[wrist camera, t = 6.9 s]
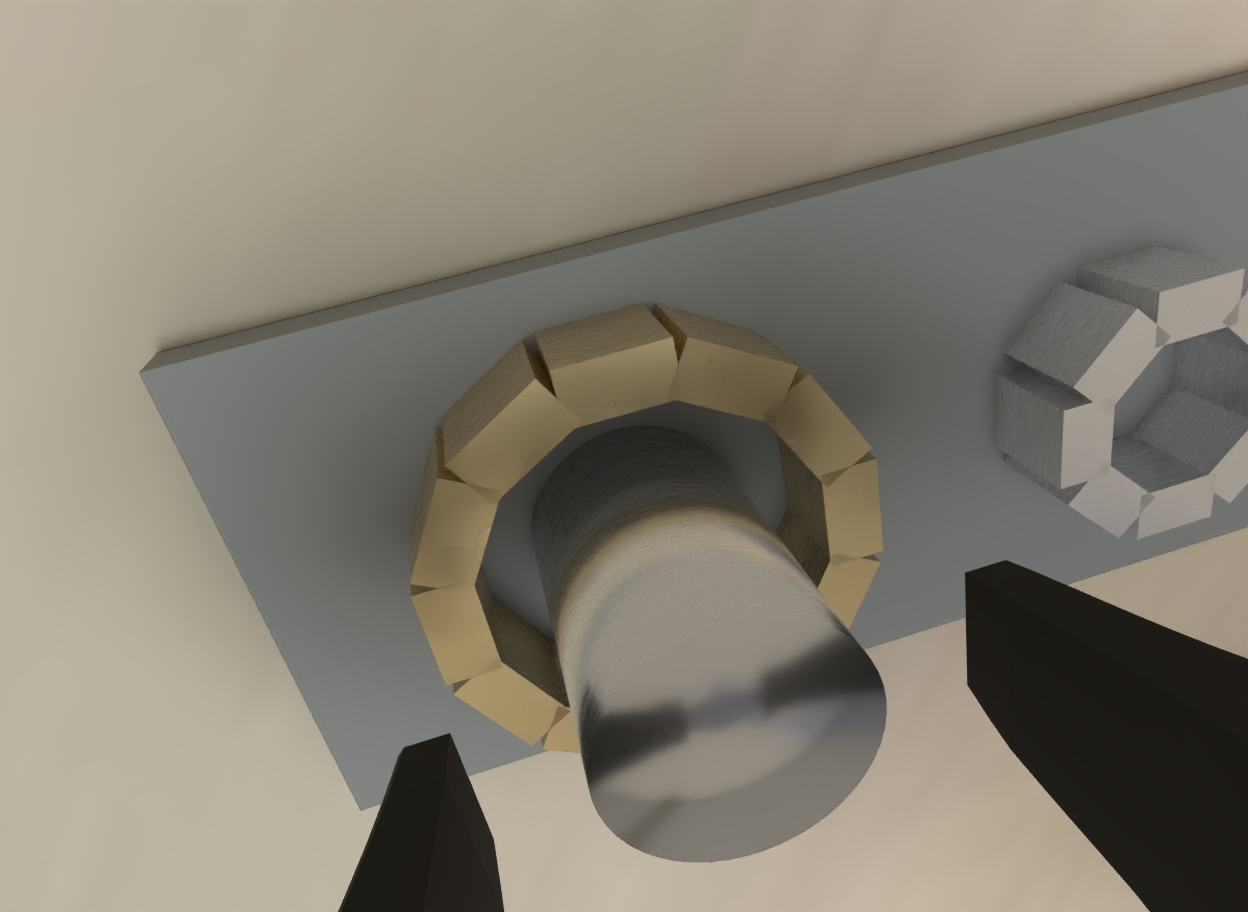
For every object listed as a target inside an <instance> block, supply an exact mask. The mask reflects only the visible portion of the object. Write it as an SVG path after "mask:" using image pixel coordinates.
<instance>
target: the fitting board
mask: <svg viewBox="0 0 1248 912" xmlns="http://www.w3.org/2000/svg"><path fill="white" fill-rule="evenodd" d="M1153 245H1154V246H1158V247H1162V248H1166V249H1170V250H1171V249H1175V250H1179V251H1183V252H1187V253H1191V254H1195V255H1199V256H1203V257H1207V258H1211V259H1215V260H1219V261H1223V262H1227V263H1231V264H1235V265H1239V266H1243V267H1247V268H1248V71H1247V72H1243V73H1239V74H1235V75H1231V76H1228V77H1224V78H1220V79H1216V80H1212V81H1208V82H1204V83H1200V84H1197V85H1193V86H1189V87H1185V88H1181V89H1177V90H1173V91H1169V92H1166V93H1162V94H1158V95H1154V96H1150V97H1146V98H1142V99H1138V100H1135V101H1131V102H1127V103H1123V104H1119V105H1115V106H1111V107H1108V108H1104V109H1100V110H1096V111H1092V112H1088V113H1084V114H1080V115H1077V116H1073V117H1069V118H1065V119H1061V120H1057V121H1053V122H1049V123H1046V124H1042V125H1038V126H1034V127H1030V128H1026V129H1022V130H1018V131H1015V132H1011V133H1007V134H1003V135H999V136H995V137H991V138H988V139H984V140H980V141H976V142H972V143H968V144H964V145H960V146H957V147H953V148H949V149H945V150H941V151H937V152H933V153H929V154H926V155H922V156H918V157H914V158H910V159H906V160H902V161H898V162H895V163H891V164H887V165H883V166H879V167H875V168H871V169H868V170H864V171H860V172H856V173H852V174H848V175H844V176H840V177H837V178H833V179H829V180H825V181H821V182H817V183H813V184H809V185H806V186H802V187H798V188H794V189H790V190H786V191H782V192H778V193H775V194H771V195H767V196H763V197H759V198H755V199H751V200H748V201H744V202H740V203H736V204H732V205H728V206H724V207H720V208H717V209H713V210H709V211H705V212H701V213H697V214H693V215H689V216H686V217H682V218H678V219H674V220H670V221H666V222H662V223H658V224H655V225H651V226H647V227H643V228H639V229H635V230H631V231H628V232H624V233H620V234H616V235H612V236H608V237H604V238H600V239H597V240H593V241H589V242H585V243H581V244H577V245H573V246H569V247H566V248H562V249H558V250H554V251H550V252H546V253H542V254H538V255H535V256H531V257H527V258H523V259H519V260H515V261H511V262H508V263H504V264H500V265H496V266H492V267H488V268H484V269H480V270H477V271H473V272H469V273H465V274H461V275H457V276H453V277H449V278H446V279H442V280H438V281H434V282H430V283H426V284H422V285H418V286H415V287H411V288H407V289H403V290H399V291H395V292H391V293H388V294H384V295H380V296H376V297H372V298H368V299H364V300H360V301H357V302H353V303H349V304H345V305H341V306H337V307H333V308H329V309H326V310H322V311H318V312H314V313H310V314H306V315H302V316H298V317H295V318H291V319H287V320H283V321H279V322H275V323H271V324H268V325H264V326H260V327H256V328H252V329H248V330H244V331H240V332H237V333H233V334H229V335H225V336H221V337H217V338H213V339H209V340H206V341H202V342H198V343H194V344H190V345H186V346H182V347H178V348H175V349H171V350H167V351H163V352H159V353H157V354H156V355H155V356H154V357H153V358H152V359H151V360H150V361H149V362H148V363H147V365H146V366H145V367H144V368H143V369H142V370H141V371H140V372H139V374H140V376H141V378H142V380H143V382H144V384H145V386H146V388H147V390H148V392H149V394H150V396H151V398H152V400H153V402H154V404H155V405H156V407H157V409H158V411H159V413H160V415H161V417H162V419H163V421H164V423H165V425H166V427H167V429H168V431H169V433H170V435H171V437H172V439H173V441H174V443H175V445H176V447H177V449H178V451H179V453H180V455H181V457H182V459H183V461H184V463H185V465H186V467H187V469H188V471H189V473H190V475H191V477H192V479H193V481H194V483H195V485H196V487H197V489H198V490H199V492H200V494H201V496H202V498H203V500H204V502H205V504H206V506H207V508H208V510H209V512H210V514H211V516H212V518H213V520H214V522H215V524H216V526H217V528H218V530H219V532H220V534H221V536H222V538H223V540H224V542H225V544H226V546H227V548H228V550H229V552H230V554H231V556H232V558H233V560H234V562H235V564H236V566H237V568H238V570H239V572H240V574H241V576H242V577H243V579H244V581H245V583H246V585H247V587H248V589H249V591H250V593H251V595H252V597H253V599H254V601H255V603H256V605H257V607H258V609H259V611H260V613H261V615H262V617H263V619H264V621H265V623H266V625H267V627H268V629H269V631H270V633H271V635H272V637H273V639H274V641H275V643H276V645H277V647H278V649H279V651H280V653H281V655H282V657H283V659H284V661H285V662H286V664H287V666H288V668H289V670H290V672H291V674H292V676H293V678H294V680H295V682H296V684H297V686H298V688H299V690H300V692H301V694H302V696H303V698H304V700H305V702H306V704H307V706H308V708H309V710H310V712H311V714H312V716H313V718H314V720H315V722H316V724H317V726H318V728H319V730H320V732H321V734H322V736H323V738H324V740H325V742H326V744H327V746H328V748H329V749H330V751H331V753H332V755H333V757H334V759H335V761H336V763H337V765H338V767H339V769H340V771H341V773H342V775H343V777H344V779H345V781H346V783H347V785H348V787H349V789H350V791H351V793H352V795H353V797H354V799H355V801H356V803H357V805H358V807H359V809H360V811H361V810H364V809H367V808H370V807H374V806H377V805H380V804H382V801H383V799H384V796H385V793H386V790H387V787H388V784H389V782H390V779H391V776H392V773H393V770H394V767H395V764H396V761H397V758H398V756H399V754H400V753H401V751H402V749H403V748H404V747H406V746H409V745H413V744H416V743H419V742H422V741H426V740H429V739H432V738H435V737H438V736H442V735H445V734H448V733H451V736H452V738H453V741H454V743H455V746H456V748H457V751H458V753H459V755H460V758H461V760H462V763H463V765H464V768H465V770H466V773H467V775H468V776H470V775H474V774H477V773H480V772H483V771H486V770H489V769H492V768H495V767H499V766H502V765H505V764H508V763H511V762H514V761H517V760H520V759H524V758H527V757H530V756H533V755H536V754H539V753H542V752H545V751H549V750H543V749H542V743H541V738H540V739H539V740H538V741H537V742H535V743H534V744H533V745H532V746H531V745H529V744H528V743H526V742H525V741H523V740H522V739H520V738H519V737H517V736H516V735H514V734H513V733H511V732H510V731H508V730H507V729H505V728H504V727H502V726H501V725H499V724H497V723H496V722H494V721H493V720H491V719H490V718H488V717H487V716H485V715H484V714H482V713H481V712H479V711H478V710H476V709H475V708H473V707H472V706H470V705H469V704H467V703H466V702H464V701H463V700H461V699H460V698H458V697H457V696H455V695H454V694H453V684H449V685H446V684H445V682H444V679H443V677H442V674H441V672H440V669H439V667H438V664H437V662H436V659H435V657H434V654H433V652H432V649H431V647H430V644H429V642H428V639H427V637H426V634H425V632H424V629H423V627H422V624H421V622H420V619H419V617H418V614H417V612H416V609H415V607H414V604H413V602H412V599H411V584H410V554H411V522H412V518H413V514H414V510H415V506H416V502H417V498H418V494H419V490H420V486H421V482H422V478H423V474H424V470H425V466H426V462H427V458H428V455H429V451H430V447H431V443H432V439H433V435H434V431H435V427H437V428H442V429H443V424H442V415H443V414H444V413H446V412H447V411H448V410H449V409H450V408H451V407H452V406H453V405H454V404H455V403H456V402H457V401H458V400H459V399H460V398H461V397H462V396H463V395H464V394H465V393H466V392H467V391H468V390H469V389H470V388H471V387H472V386H473V385H474V384H475V383H476V382H477V381H478V380H479V379H481V378H482V377H483V376H484V375H485V374H486V373H487V372H488V371H489V370H490V369H491V368H492V367H493V366H494V365H495V364H496V363H497V362H498V361H499V360H500V359H501V358H502V357H503V356H504V355H505V354H506V353H507V352H508V351H509V350H510V349H511V348H512V347H513V346H514V345H516V344H517V343H518V342H519V341H520V340H521V339H522V340H523V341H524V342H525V343H526V344H527V345H528V346H529V347H530V348H531V349H532V350H533V351H534V352H535V353H537V354H538V355H539V356H540V354H539V351H538V347H537V343H536V339H535V336H534V332H535V331H539V330H543V329H547V328H550V327H554V326H558V325H561V324H565V323H569V322H573V321H576V320H580V319H584V318H588V317H591V316H595V315H599V314H603V313H606V312H610V311H614V310H617V309H621V308H625V307H629V306H632V305H636V304H640V303H642V304H643V305H644V306H645V307H646V308H647V309H648V310H649V311H650V312H651V313H652V312H653V309H654V306H655V303H657V304H661V305H665V306H668V307H672V308H675V309H679V310H683V311H686V312H690V313H693V314H697V315H701V316H704V317H708V318H712V319H715V320H719V321H722V322H726V323H730V324H733V325H737V326H740V327H744V328H748V329H751V330H754V331H755V332H757V333H758V334H759V335H760V336H761V337H765V338H766V339H767V340H769V341H770V342H771V343H772V344H774V345H775V346H776V347H777V348H779V349H780V350H781V351H782V352H784V353H785V354H786V355H787V356H789V357H790V358H791V359H792V360H793V361H795V362H796V363H797V364H798V365H800V366H801V367H802V368H803V369H805V370H806V371H807V372H808V373H810V375H811V376H812V377H813V378H814V379H815V381H816V382H817V383H818V384H819V385H820V387H821V388H822V389H823V390H824V391H825V392H826V394H827V395H828V396H829V397H830V398H831V400H832V401H833V402H834V403H835V404H836V406H837V407H838V408H839V409H840V410H841V411H842V413H843V414H844V415H845V416H846V417H847V419H848V420H849V421H850V422H851V423H852V425H853V426H854V427H855V428H856V429H857V430H858V432H859V433H860V434H861V435H862V436H863V438H864V439H865V440H866V441H867V442H868V444H869V445H870V446H871V447H872V449H870V450H869V451H868V452H869V453H870V454H872V455H873V456H874V457H875V458H876V459H877V472H878V486H879V499H880V512H881V526H882V539H883V551H881V552H878V553H875V554H874V555H875V556H876V557H877V558H878V559H879V560H880V562H881V563H880V565H879V567H878V569H877V571H876V574H875V576H874V578H873V580H872V582H871V584H870V586H869V588H868V590H867V592H866V594H865V596H864V598H863V600H862V602H861V605H860V607H859V609H858V611H857V613H856V615H855V617H854V619H853V621H852V623H851V625H850V627H849V629H848V630H849V631H850V632H851V634H852V635H853V636H854V638H855V639H856V640H857V642H858V643H859V644H860V646H861V647H862V648H863V650H864V649H867V648H871V647H874V646H877V645H880V644H883V643H886V642H889V641H892V640H896V639H899V638H902V637H905V636H908V635H911V634H914V633H917V632H921V631H924V630H927V629H930V628H933V627H936V626H939V625H942V624H946V623H949V622H952V621H955V620H958V619H961V618H964V617H966V603H965V572H968V571H971V570H975V569H978V568H981V567H984V566H987V565H991V564H994V563H997V562H1000V561H1004V560H1007V561H1010V562H1013V563H1015V564H1018V565H1020V566H1023V567H1025V568H1028V569H1030V570H1033V571H1035V572H1037V573H1040V574H1042V575H1044V576H1047V577H1049V578H1051V579H1054V580H1056V581H1058V582H1061V583H1063V584H1065V585H1067V584H1071V583H1074V582H1077V581H1080V580H1083V579H1086V578H1089V577H1092V576H1096V575H1099V574H1102V573H1105V572H1108V571H1111V570H1114V569H1117V568H1121V567H1124V566H1127V565H1130V564H1133V563H1136V562H1139V561H1142V560H1146V559H1149V558H1152V557H1155V556H1158V555H1161V554H1164V553H1167V552H1171V551H1174V550H1177V549H1180V548H1183V547H1186V546H1189V545H1192V544H1196V543H1199V542H1202V541H1205V540H1208V539H1211V538H1214V537H1217V536H1221V535H1224V534H1227V533H1230V532H1233V531H1236V530H1239V529H1242V528H1246V527H1248V484H1247V485H1246V486H1245V487H1244V488H1243V489H1242V490H1241V492H1240V493H1239V494H1238V495H1237V496H1236V497H1235V498H1234V499H1233V500H1232V502H1231V503H1228V502H1226V501H1224V500H1223V499H1221V498H1219V497H1217V496H1215V495H1213V502H1212V509H1211V516H1210V517H1207V518H1204V519H1201V520H1198V521H1194V522H1191V523H1188V524H1185V525H1182V526H1179V527H1176V528H1172V529H1169V530H1166V531H1163V532H1160V533H1157V534H1153V535H1150V536H1147V537H1144V538H1141V539H1138V540H1137V539H1135V538H1134V537H1132V536H1131V535H1129V534H1128V533H1126V532H1124V533H1123V535H1122V536H1121V537H1120V538H1118V537H1116V536H1115V535H1113V534H1111V533H1110V532H1108V531H1107V530H1105V529H1104V528H1102V527H1101V526H1099V525H1098V524H1096V523H1095V522H1093V521H1091V520H1090V519H1088V518H1087V517H1085V516H1084V515H1082V514H1081V513H1079V512H1078V511H1076V510H1075V509H1073V508H1071V507H1070V506H1068V505H1067V504H1065V503H1064V502H1063V501H1061V500H1060V499H1058V498H1057V497H1055V496H1054V495H1052V494H1051V493H1049V492H1048V491H1047V490H1045V489H1044V488H1042V487H1041V486H1039V485H1038V484H1036V483H1035V482H1033V481H1032V480H1031V479H1029V478H1028V477H1026V476H1025V475H1023V474H1022V473H1020V472H1019V471H1017V470H1016V469H1015V468H1013V467H1012V466H1010V465H1009V464H1007V463H1006V462H1004V461H1003V458H1004V457H1005V456H1006V455H1007V453H1006V452H1004V451H1003V450H1001V449H1000V448H998V447H997V446H995V373H997V372H1001V371H1004V370H1008V369H1011V368H1015V367H1018V366H1021V365H1020V364H1018V363H1017V362H1016V361H1014V360H1013V359H1012V358H1010V357H1009V356H1007V355H1006V354H1005V353H1003V351H1004V349H1005V348H1006V347H1007V345H1008V344H1009V343H1010V342H1011V340H1012V339H1013V338H1014V336H1015V335H1016V334H1017V332H1018V331H1019V330H1020V329H1021V327H1022V326H1023V325H1024V323H1025V322H1026V321H1027V320H1028V318H1029V317H1030V316H1031V314H1032V313H1033V312H1034V310H1035V309H1036V308H1037V307H1038V305H1039V304H1040V303H1041V301H1042V300H1043V299H1044V297H1045V296H1046V295H1047V294H1048V292H1049V291H1050V290H1051V288H1052V287H1053V286H1054V285H1055V283H1056V282H1057V281H1060V282H1063V283H1066V284H1069V285H1072V286H1075V287H1076V284H1077V266H1081V265H1085V264H1088V263H1092V262H1095V261H1099V260H1103V259H1106V258H1110V257H1113V256H1117V255H1121V254H1124V253H1128V252H1131V251H1135V250H1139V249H1142V248H1146V247H1149V246H1153ZM1174 351H1175V342H1174V343H1170V344H1167V345H1164V346H1163V347H1162V348H1161V350H1160V351H1159V352H1158V353H1157V354H1156V356H1155V357H1154V358H1153V359H1152V361H1151V362H1150V363H1149V364H1148V365H1147V367H1146V368H1145V369H1144V370H1143V371H1142V373H1141V374H1140V375H1139V376H1138V377H1137V379H1136V380H1135V381H1134V382H1133V384H1132V385H1131V386H1130V387H1129V388H1128V390H1127V391H1126V392H1125V393H1124V394H1123V396H1122V397H1121V398H1120V399H1119V400H1118V402H1117V403H1116V404H1115V411H1114V425H1113V439H1114V438H1118V437H1121V436H1124V435H1128V434H1130V433H1131V432H1132V431H1133V430H1134V428H1135V427H1136V426H1137V425H1138V424H1139V422H1140V421H1141V420H1142V419H1143V418H1144V416H1145V415H1146V414H1147V413H1148V412H1149V411H1150V409H1151V408H1152V407H1153V406H1154V405H1155V403H1156V402H1157V401H1158V400H1159V399H1160V397H1161V396H1162V395H1163V394H1164V393H1165V391H1166V390H1167V389H1168V388H1169V387H1170V386H1171V380H1172V371H1173V361H1174ZM639 425H655V426H662V427H669V428H672V429H676V430H680V431H682V432H685V433H687V434H689V435H692V436H694V437H695V438H697V439H699V440H700V441H702V442H704V443H705V444H706V445H707V446H708V447H709V448H711V449H712V450H713V451H714V452H715V453H716V454H717V456H718V457H719V458H720V459H721V460H722V462H723V463H724V464H725V466H726V467H727V468H728V470H729V471H730V472H731V474H732V475H733V476H734V478H735V479H736V480H737V482H738V483H739V484H740V486H741V487H742V488H743V490H744V491H745V492H746V494H747V495H748V496H749V498H750V499H751V500H752V502H753V503H754V504H755V506H756V507H757V508H758V510H759V511H760V512H761V514H762V515H763V516H764V518H765V519H766V520H767V522H768V523H769V524H770V526H771V527H772V528H773V530H774V531H775V532H777V530H778V528H779V525H780V523H781V521H782V518H783V516H784V514H785V511H786V509H787V502H786V494H785V487H784V480H783V472H782V465H781V457H780V450H779V442H778V436H777V435H776V434H775V432H774V431H773V430H772V429H771V428H770V427H769V426H768V425H767V424H766V423H765V422H764V421H760V420H756V419H752V418H748V417H743V416H739V415H735V414H731V413H727V412H723V411H718V410H714V409H710V408H706V407H702V406H697V405H693V404H689V403H685V402H681V401H677V400H674V401H671V402H667V403H663V404H660V405H656V406H653V407H649V408H646V409H642V410H639V411H635V412H631V413H628V414H624V415H621V416H617V417H614V418H610V419H607V420H603V421H599V422H596V423H592V424H589V425H585V426H582V427H578V428H575V429H574V430H572V431H571V432H570V433H569V434H568V435H567V436H566V437H565V438H564V439H563V440H562V441H561V442H560V443H559V444H558V445H556V446H555V447H554V448H553V449H552V450H551V451H550V452H549V453H548V454H547V455H546V456H545V457H544V458H543V459H542V460H541V461H539V462H538V463H537V464H536V465H535V466H534V467H533V468H532V469H531V470H530V471H529V472H528V473H527V474H526V475H525V476H523V477H522V478H521V479H520V480H519V481H518V482H517V483H516V484H515V485H514V486H513V487H512V488H511V489H510V490H509V491H507V492H506V493H505V494H504V495H503V496H502V497H501V498H500V500H499V503H498V506H497V510H496V513H495V517H494V520H493V524H492V527H491V530H490V534H489V537H488V541H487V544H486V548H485V551H484V554H483V558H482V561H481V564H482V567H483V570H484V572H485V575H486V578H487V581H488V584H489V587H490V590H491V593H492V595H493V596H494V597H495V598H497V599H498V600H499V601H501V602H502V603H503V604H505V605H506V606H507V607H509V608H510V609H511V610H513V611H514V612H515V613H517V614H518V615H519V616H521V617H522V618H523V619H525V620H526V621H527V622H529V623H530V624H531V625H532V626H534V627H535V628H536V629H538V630H539V631H540V632H542V633H543V634H544V635H546V636H547V637H548V638H550V639H554V640H555V638H554V634H553V629H552V625H551V621H550V616H549V612H548V608H547V603H546V599H545V594H544V590H543V586H542V581H541V577H540V573H539V568H538V564H537V559H536V555H535V551H534V546H533V541H532V517H533V512H534V507H535V504H536V501H537V498H538V495H539V493H540V491H541V489H542V487H543V485H544V483H545V481H546V480H547V478H548V477H549V475H550V474H551V473H552V471H553V470H554V469H555V468H556V466H557V465H558V464H559V463H560V462H561V461H562V460H563V459H564V458H565V457H566V456H567V455H569V454H570V453H571V452H572V451H573V450H575V449H576V448H578V447H579V446H581V445H582V444H584V443H585V442H587V441H589V440H591V439H593V438H595V437H597V436H599V435H601V434H604V433H606V432H609V431H612V430H616V429H620V428H624V427H630V426H639Z"/></svg>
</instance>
